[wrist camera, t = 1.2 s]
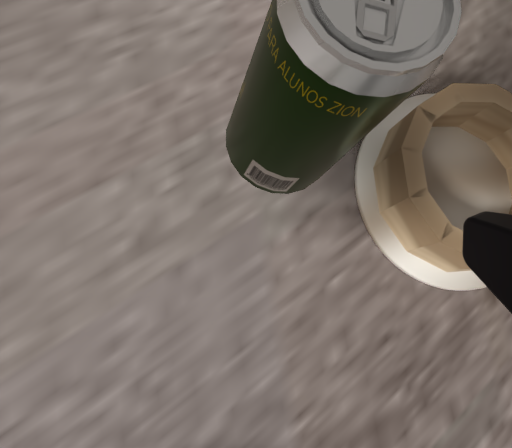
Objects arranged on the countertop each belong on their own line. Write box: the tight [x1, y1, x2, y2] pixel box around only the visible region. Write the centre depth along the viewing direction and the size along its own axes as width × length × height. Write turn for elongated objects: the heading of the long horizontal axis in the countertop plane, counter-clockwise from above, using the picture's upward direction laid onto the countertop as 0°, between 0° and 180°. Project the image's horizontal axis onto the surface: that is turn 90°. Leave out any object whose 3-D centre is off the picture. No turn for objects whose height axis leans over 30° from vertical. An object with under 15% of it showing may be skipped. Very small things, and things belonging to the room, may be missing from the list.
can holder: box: [354, 83, 512, 291], centre depth 24 cm, size 11×11×3 cm
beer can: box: [226, 0, 462, 194], centre depth 19 cm, size 5×5×12 cm
